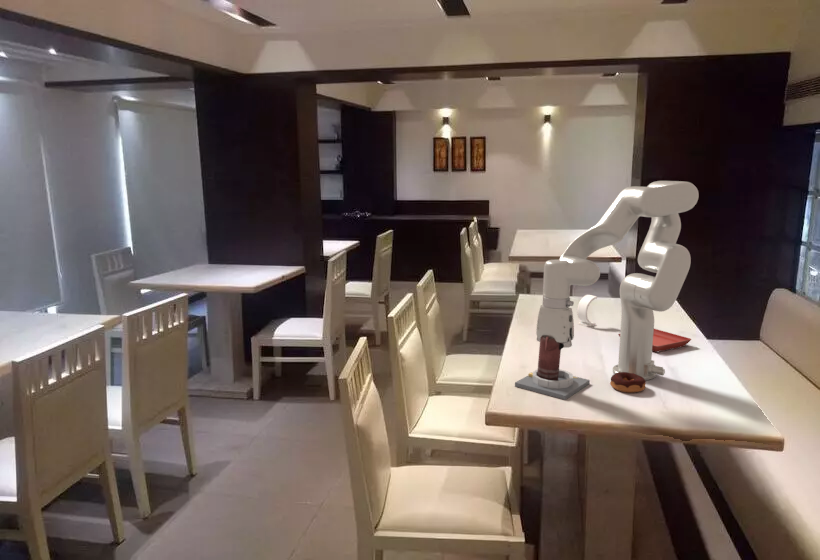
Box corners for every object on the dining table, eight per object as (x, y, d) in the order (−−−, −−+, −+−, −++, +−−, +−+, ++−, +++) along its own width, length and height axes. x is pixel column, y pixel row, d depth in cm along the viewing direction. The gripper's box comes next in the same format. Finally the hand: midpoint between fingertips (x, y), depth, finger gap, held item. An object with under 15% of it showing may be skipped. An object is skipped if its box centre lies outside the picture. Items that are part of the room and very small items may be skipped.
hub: (589, 383, 176) (589, 373, 175) (565, 399, 164) (565, 388, 163) (541, 372, 186) (541, 362, 185) (514, 386, 174) (515, 376, 173)
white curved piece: (595, 325, 240) (597, 296, 238) (584, 327, 237) (586, 298, 235) (587, 322, 244) (588, 294, 242) (576, 324, 241) (577, 296, 239)
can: (534, 381, 174) (537, 336, 171) (540, 374, 179) (543, 330, 176) (554, 385, 171) (558, 339, 168) (560, 378, 176) (564, 334, 173)
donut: (617, 379, 179) (617, 367, 179) (650, 387, 173) (651, 374, 172) (604, 389, 172) (605, 376, 171) (638, 397, 166) (639, 384, 165)
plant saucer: (616, 342, 218) (617, 333, 218) (650, 335, 226) (651, 327, 226) (656, 355, 203) (657, 346, 202) (691, 348, 211) (692, 339, 210)
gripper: (585, 304, 168) (582, 365, 171) (538, 296, 178) (536, 355, 181) (574, 309, 162) (570, 372, 166) (526, 301, 172) (524, 361, 175)
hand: (552, 363), depth 173 cm, fingers closed
